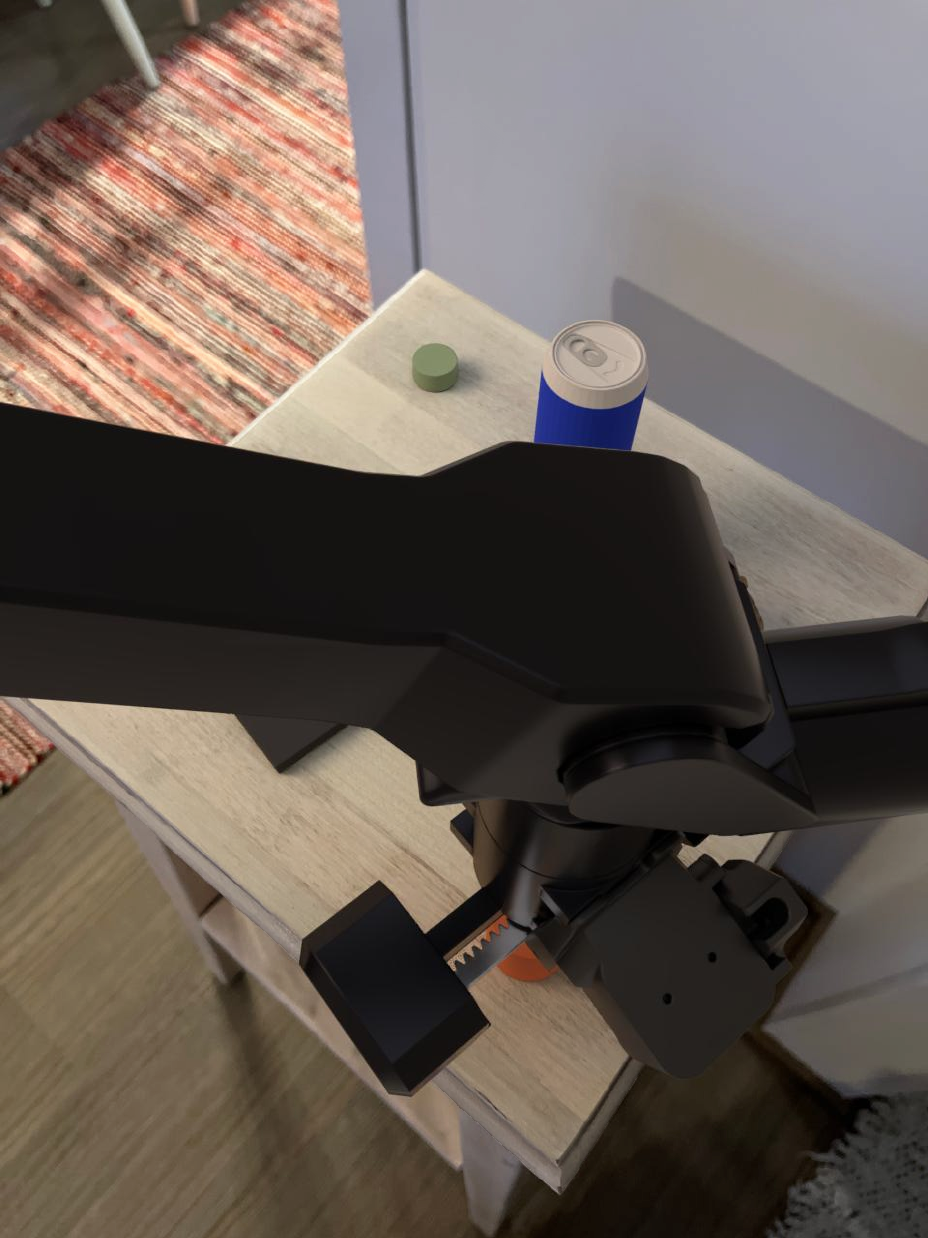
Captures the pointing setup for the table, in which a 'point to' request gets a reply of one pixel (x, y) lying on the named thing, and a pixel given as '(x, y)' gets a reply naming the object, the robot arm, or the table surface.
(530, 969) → the orange cylinder
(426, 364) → the pad
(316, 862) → the table surface
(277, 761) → the base pad
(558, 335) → the beverage can
